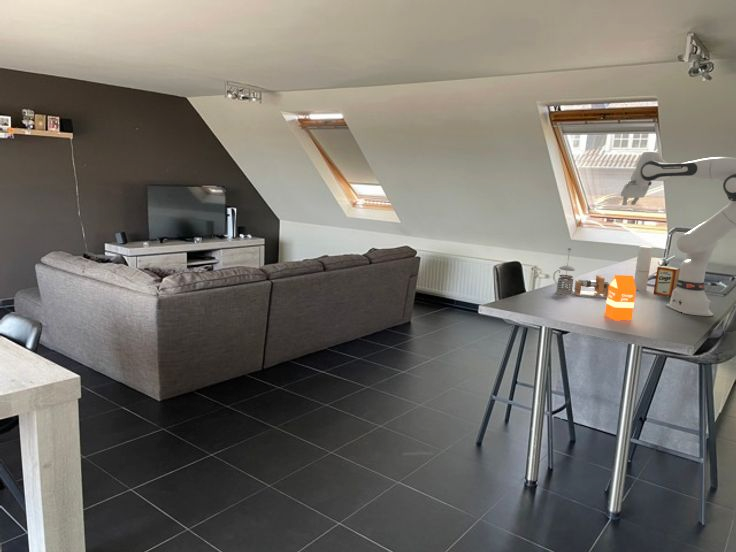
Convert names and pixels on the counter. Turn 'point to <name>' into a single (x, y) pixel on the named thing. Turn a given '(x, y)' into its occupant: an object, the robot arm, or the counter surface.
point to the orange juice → (621, 298)
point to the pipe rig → (590, 284)
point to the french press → (565, 281)
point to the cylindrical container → (643, 267)
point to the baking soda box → (666, 280)
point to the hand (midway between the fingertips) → (628, 204)
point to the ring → (600, 284)
